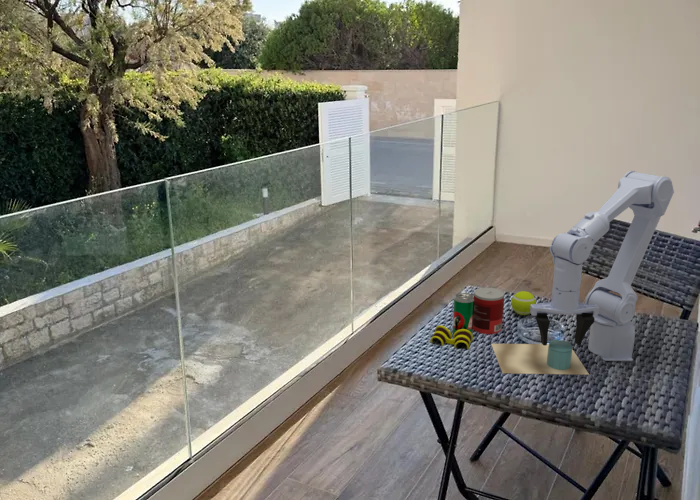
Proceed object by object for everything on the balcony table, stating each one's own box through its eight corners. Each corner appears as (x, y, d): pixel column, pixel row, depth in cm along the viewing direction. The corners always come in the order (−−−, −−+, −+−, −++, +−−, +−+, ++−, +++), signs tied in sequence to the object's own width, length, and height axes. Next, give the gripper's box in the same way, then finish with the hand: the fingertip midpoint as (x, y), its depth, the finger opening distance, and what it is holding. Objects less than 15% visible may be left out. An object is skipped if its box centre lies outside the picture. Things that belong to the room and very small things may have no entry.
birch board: (568, 349, 150) (569, 344, 150) (588, 379, 136) (589, 374, 135) (490, 347, 151) (491, 343, 151) (502, 377, 137) (502, 373, 136)
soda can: (472, 344, 153) (474, 299, 150) (451, 342, 154) (453, 298, 150) (472, 335, 158) (474, 292, 154) (452, 334, 159) (454, 291, 155)
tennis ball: (538, 318, 168) (540, 296, 166) (514, 319, 168) (516, 296, 166) (530, 309, 174) (532, 287, 172) (507, 309, 174) (509, 287, 172)
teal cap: (566, 359, 142) (568, 340, 141) (573, 369, 138) (575, 349, 136) (544, 359, 142) (546, 339, 141) (550, 369, 138) (552, 349, 136)
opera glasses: (429, 350, 152) (429, 334, 150) (435, 338, 157) (435, 322, 154) (468, 357, 149) (468, 340, 146) (473, 344, 153) (473, 328, 150)
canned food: (500, 326, 163) (503, 287, 160) (502, 339, 156) (505, 299, 152) (471, 324, 165) (473, 286, 161) (471, 337, 157) (473, 297, 154)
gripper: (593, 280, 138) (586, 335, 142) (528, 281, 138) (524, 335, 143) (604, 292, 131) (598, 349, 135) (536, 292, 132) (532, 349, 136)
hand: (560, 343), depth 139 cm, fingers open, 7 cm apart
